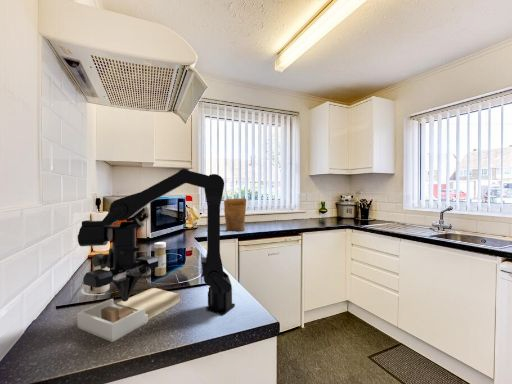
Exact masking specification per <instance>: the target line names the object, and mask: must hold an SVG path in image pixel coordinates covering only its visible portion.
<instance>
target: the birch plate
mask: <svg viewBox="0 0 512 384" xmlns="http://www.w3.org/2000/svg"><path fill="white" fill-rule="evenodd" d="M180 302H181V294H180V293H178V292H172V291H168V290H164V289H160V288H156V287H152V288H149V289H147V290H144V291H142V292H140V293H137V294H135V295H133V296H130V297H129V299H128V301H125V302H124V301H123V300H121V301H118V302H117V303H116V305H118V306H121V307H125V308H128V309H131V310H134V311H138V310H140V309H142V308H145V314H147V315H148V321H149V320H150V319H152V318H154V317H156V316H157V315H159V314H161V313H163V312H164V311H166V310H168V309H170V308H172V307H174V306H176V305H177V304H179V303H180Z"/></svg>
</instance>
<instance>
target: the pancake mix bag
mask: <svg viewBox="0 0 512 384" xmlns="http://www.w3.org/2000/svg"><path fill="white" fill-rule="evenodd" d="M223 206H224V207H223V209H224V210H223V212H224V221H225V232H227V231H236V232H245V231H246V228H245V221H246V219H245V218H246V210H247V209H246V207H247V199H246V198H243V197H242V198H241V197H240V198H225V200H223ZM244 230H245V231H244Z"/></svg>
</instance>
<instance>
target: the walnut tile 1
mask: <svg viewBox="0 0 512 384" xmlns="http://www.w3.org/2000/svg"><path fill="white" fill-rule="evenodd" d="M101 319H104V320H107V321H109V322H112V323H114V322H116V321H118V320H119V309H117V308H113V307H110V306H108V307H105V308H103V309H101Z"/></svg>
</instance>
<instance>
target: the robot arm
mask: <svg viewBox="0 0 512 384" xmlns="http://www.w3.org/2000/svg"><path fill="white" fill-rule="evenodd" d="M185 184H186V185H188V184H189V185H191V186H194V187H195V186H196V187H199V188H202V189H204V190H203V191H204V194H205V195H204V196H205V200H206V205H207V211H206V212H207V213H206V215H207V216H206V219H207V220H206V222H207V223H206V225H207V226H206V228H207V230H206V233H207V235H206V238H207V239H206V242H207V243H206V244H207V246H206V255H205V257H203V256H201V258H200V259H201V260H200V261H201V269H200V276H201V278H203V281H204V283H205V285H207V286H209V287H208V291H207V307H205V311H208V312H212V313H214V314H215V313H216V314H218V315H221V316H222V315H225V314H227V313H228V312H229V311H230V310H232V309H233V308H234V307H235V305H236V304H235V303H233V288H232V287H233V285H232V282H231V280H230V276H229V274H228V273H226V272H225V271H224V268H223V267H224V266H223V261H222V258H221V227H220V226H221V203H222V199H223V194H224V189H225V181H224V178H223V177H222V176H221V175H219V174H216V173H211V174H209V175H207V174H204V173H200V172H197V171H195V172H194V171H191V170H189V169H187V168H181V169H180V170H178V171H177V172H176V173H174V174H172V175H170V176H168V177H167V178H165V179H162V180H161V181H159V182H157V183H156V184H155V183H154V184H153V185H152V186H150V187H147V188H145V189H143V190H141V191H140V192H136V193H132V194H130V195H126V196H124V197H121V198H119V199H115V200H113V201H112V202H111V203H110V205H109V208H108V209H109V211H108V213H107V214H106V215H105V217H103V219H102V220H91V219H90V220H89V219H88V220H83V221H81V226H80V228H79V231H78V234H77V243H78V245H79V246H80V247H95V246H106V245H108V242H111V241H112V247H111V248H109V249H108V254H106V255H104V253H96V254H94V255H92V266H93V267H94V268H97V267H99V269H94V270H92V271H88V272H86V273H85V274H84V275H83V278H82V279H83V281H82V282H83V284H82V285H85V286H88V287H90V288H91V287H92V288H95V289H96V288H102V287H104V286H107V285H108V286H109V285H110V284H111V283H113V284H114V286H115V288H116V289H117V292H118V294H119V295H120V298H121V301H124V302H125V301H128V299H129V298H130V297H131V294H132V293H133V290H134V288H135V286H136V284H137V283H138V281H139V280H140V277H141V276H143V272H140V269H143V268H145V267H147V268H148V269H149V270H155V268H156V267H158V260H157V258H156V257H155V256H149V255H144V256H140V257H138V258H137V252H139V251H140V246H137V229H141V228H142V227H143V226H144V223H143V222H142V221H140V220H139V219H138V218H135V219H134V220H133V221H131V220H130V221H129V220H128V219H130V218H133V217H135V216H136V215H137V214H138V213H139V212H141V211H143V209H145V207H147V206H148V205H149V204H151V203H152V202H154V201H156V200H157V199H160V198H161V197H163V196H166V195H167V194H169V193H170V192H172V191H174V190H176V189H177V188H179V187H181V186H183V185H185ZM127 220H128V221H127ZM120 221H121V222H120ZM117 222H120V224H116V223H117ZM113 224H115V225H113ZM105 268H107V269H110V270H106V269H105Z"/></svg>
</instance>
